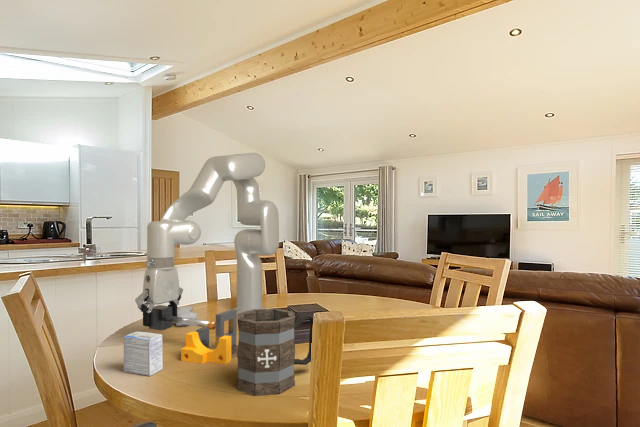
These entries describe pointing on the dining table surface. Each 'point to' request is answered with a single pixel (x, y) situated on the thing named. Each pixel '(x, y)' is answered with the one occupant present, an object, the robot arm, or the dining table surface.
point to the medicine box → (143, 353)
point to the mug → (268, 350)
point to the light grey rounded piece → (185, 314)
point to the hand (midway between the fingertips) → (160, 321)
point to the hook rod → (175, 319)
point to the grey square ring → (222, 330)
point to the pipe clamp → (206, 350)
